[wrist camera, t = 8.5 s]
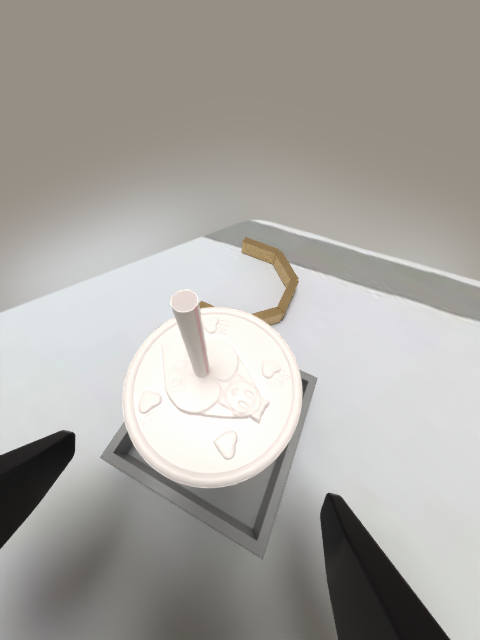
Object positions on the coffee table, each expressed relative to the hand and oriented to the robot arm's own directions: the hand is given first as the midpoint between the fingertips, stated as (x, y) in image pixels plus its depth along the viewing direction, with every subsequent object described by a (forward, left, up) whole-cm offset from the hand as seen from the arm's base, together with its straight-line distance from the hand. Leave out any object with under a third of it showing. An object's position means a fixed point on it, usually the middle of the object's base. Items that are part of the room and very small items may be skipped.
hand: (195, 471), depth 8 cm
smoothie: (+3, +1, -8) cm, 9 cm away
